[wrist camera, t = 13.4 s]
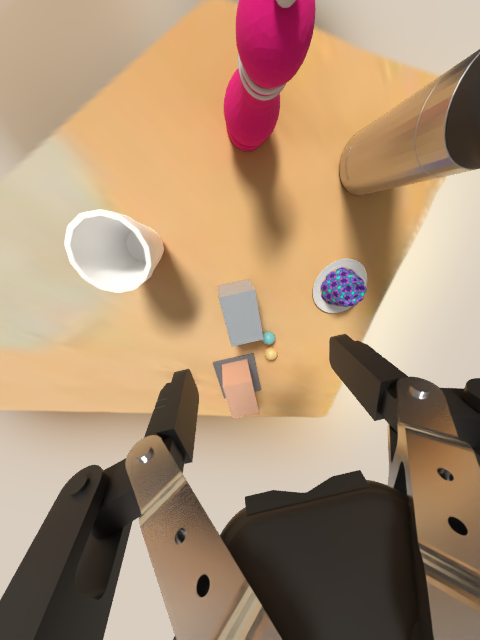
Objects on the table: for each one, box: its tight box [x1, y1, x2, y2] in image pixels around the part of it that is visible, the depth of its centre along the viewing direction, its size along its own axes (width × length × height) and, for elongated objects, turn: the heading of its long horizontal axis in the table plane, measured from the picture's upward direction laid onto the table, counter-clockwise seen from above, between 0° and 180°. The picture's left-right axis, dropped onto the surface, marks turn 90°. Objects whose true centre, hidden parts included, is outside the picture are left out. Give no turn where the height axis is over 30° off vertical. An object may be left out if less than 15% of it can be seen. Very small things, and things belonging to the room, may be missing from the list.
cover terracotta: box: [222, 359, 259, 419], centre depth 46 cm, size 6×10×8 cm, turn 11°
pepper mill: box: [224, 0, 315, 151], centre depth 20 cm, size 7×7×20 cm
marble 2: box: [265, 347, 277, 360], centre depth 46 cm, size 3×3×3 cm
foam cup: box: [64, 209, 164, 293], centre depth 29 cm, size 10×9×13 cm
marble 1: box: [262, 331, 275, 345], centre depth 44 cm, size 3×3×3 cm
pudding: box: [313, 258, 367, 313], centre depth 40 cm, size 12×12×5 cm
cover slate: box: [219, 279, 263, 347], centre depth 38 cm, size 6×10×8 cm, turn 11°
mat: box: [213, 353, 261, 398], centre depth 50 cm, size 10×12×1 cm
